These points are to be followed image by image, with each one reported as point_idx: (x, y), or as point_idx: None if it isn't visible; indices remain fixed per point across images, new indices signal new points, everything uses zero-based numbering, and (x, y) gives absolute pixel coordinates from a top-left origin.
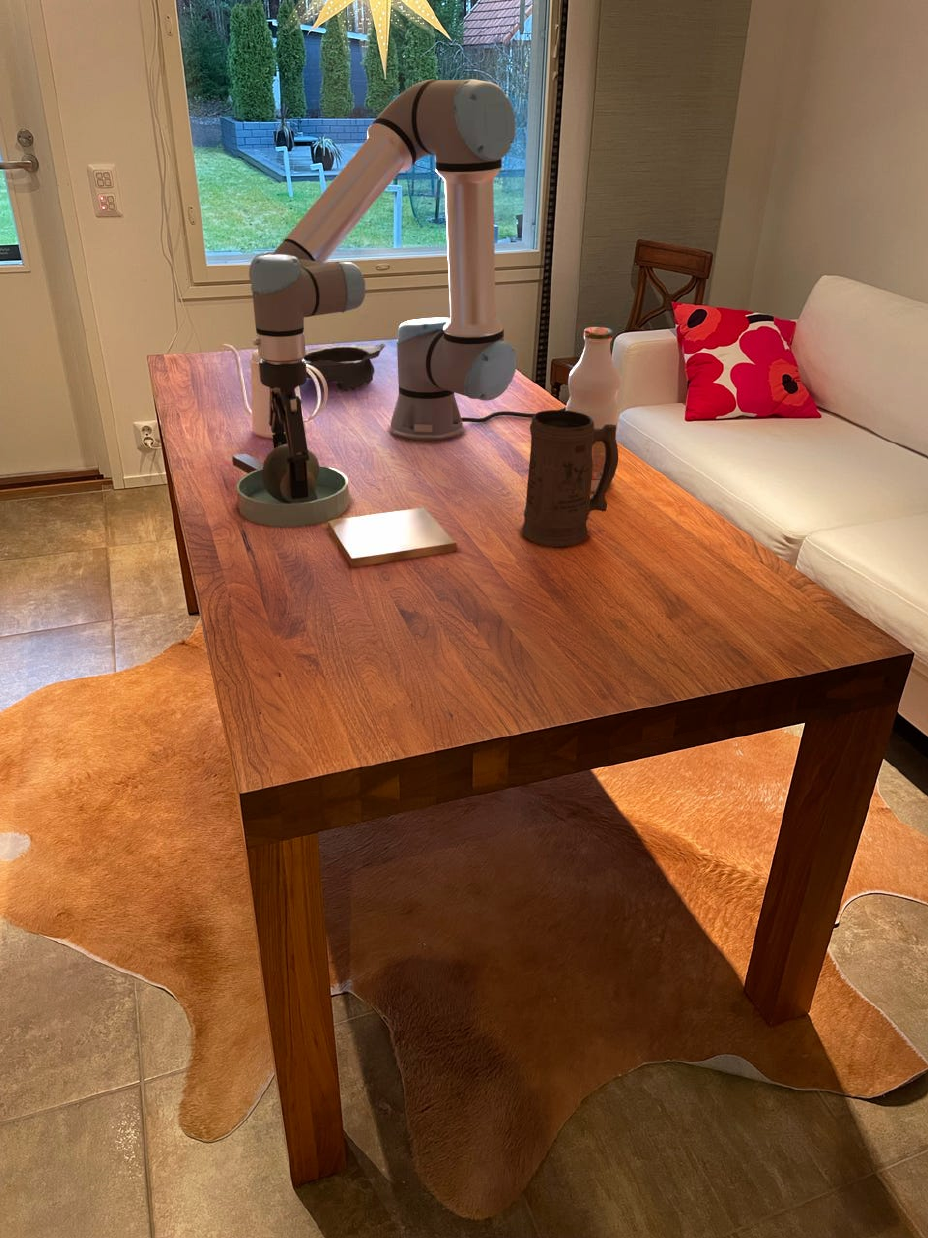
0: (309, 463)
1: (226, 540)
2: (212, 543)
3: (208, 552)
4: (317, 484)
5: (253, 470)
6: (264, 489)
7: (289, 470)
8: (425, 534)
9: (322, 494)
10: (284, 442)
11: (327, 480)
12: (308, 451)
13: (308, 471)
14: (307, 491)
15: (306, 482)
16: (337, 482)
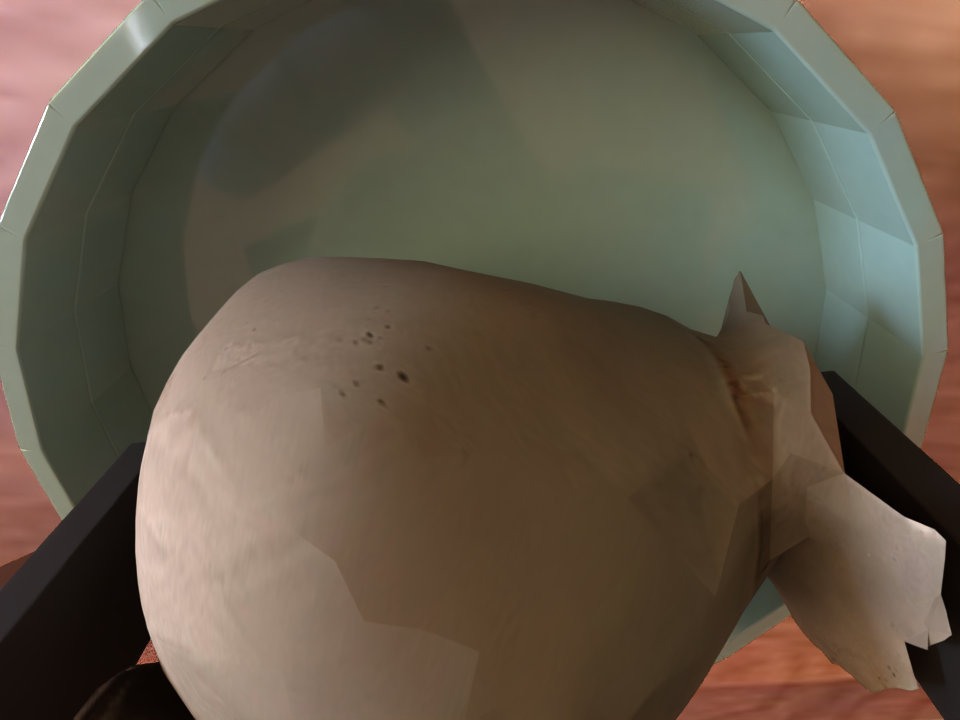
0: (618, 451)
1: (812, 649)
2: (814, 686)
3: (892, 697)
4: (139, 180)
5: None
6: None
7: (925, 688)
8: None
9: (349, 164)
10: (15, 701)
11: (158, 103)
12: (401, 501)
13: (727, 443)
14: (861, 402)
15: (917, 457)
16: (257, 12)
